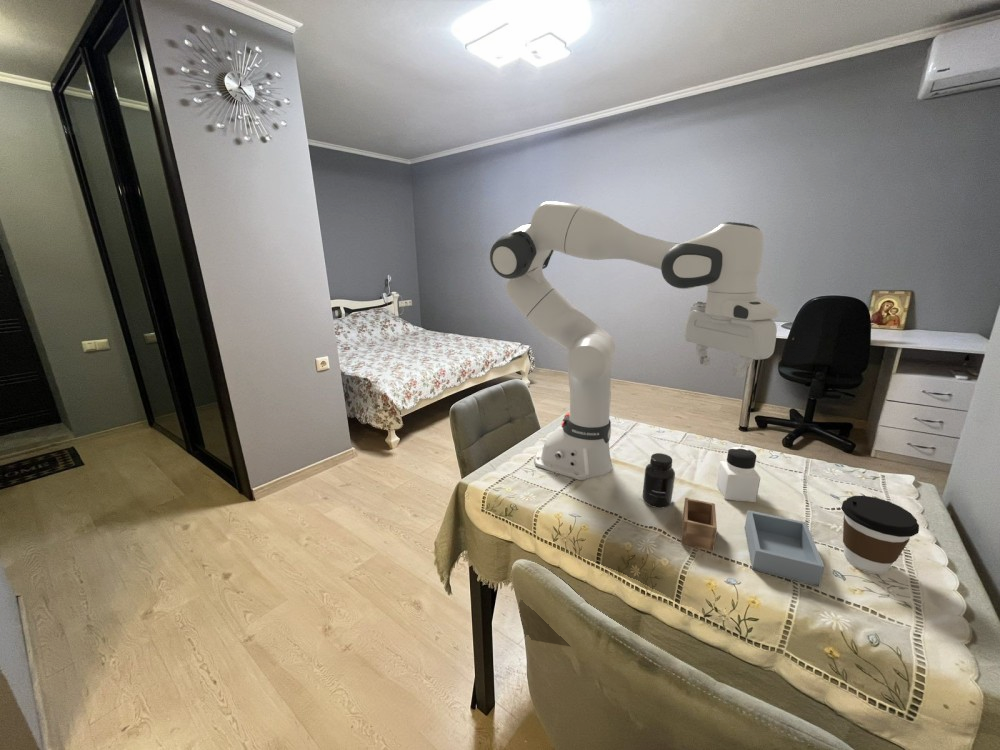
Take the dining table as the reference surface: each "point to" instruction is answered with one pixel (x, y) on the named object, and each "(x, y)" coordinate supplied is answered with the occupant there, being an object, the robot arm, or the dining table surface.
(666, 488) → the supplement bottle
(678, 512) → the dining table surface
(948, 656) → the dining table surface
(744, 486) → the medicine bottle
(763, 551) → the grey crate
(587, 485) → the dining table surface
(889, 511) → the coffee cup
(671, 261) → the robot arm
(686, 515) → the walnut crate
